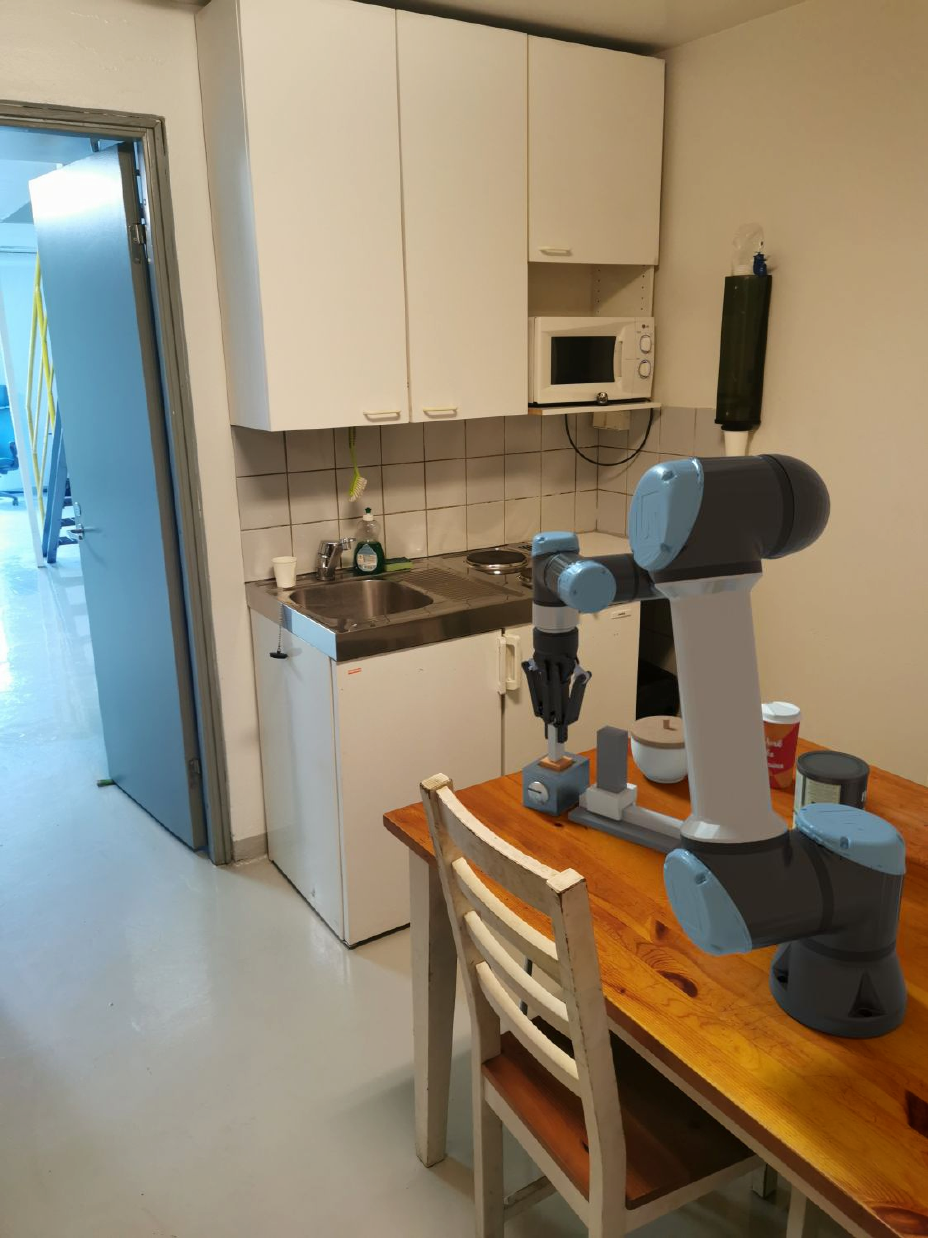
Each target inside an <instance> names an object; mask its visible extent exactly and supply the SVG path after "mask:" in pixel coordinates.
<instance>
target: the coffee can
mask: <svg viewBox="0 0 928 1238" xmlns="http://www.w3.org/2000/svg"><path fill="white" fill-rule="evenodd" d="M795 766H796V772H795V773H796V774H795V785H794V786H795V790H794V804H793V817H792V829H794V828H795V827H796V824H795V817H796V816H797V814H798V812H799V810H800V809H801V808H802V807H804V806H806V805H809V804H814V803H833V804H840V805H846V806H850V807H854V808H857V809H861V810H864V811H866V804H867V793H868V783H869V775H870V771H871V768H870V766H869V764H868V763H867V762H866V761H865V760H863V759H862V758H860V757H857V756H855V755H853V754H851V753H850V754H849V753H845V752H841V751H836V750H828V749H827V750H825V749H823V750H811V751H806V752H803V753H801V754H800V755H798V756H797V757H796V758H795Z"/></svg>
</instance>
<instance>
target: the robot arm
mask: <svg viewBox="0 0 928 1238" xmlns="http://www.w3.org/2000/svg"><path fill="white" fill-rule="evenodd" d="M831 504H832V503H831V497H830V493H829V490H828V488H827V484H826V483H825V481H824V479H823V478H822V477H821V475H820V474H819V473H818V472H817V470H815V469H814V468H813V467H811V465H809V464H808V463H807V462H804V461H802V460H801V459H799V458H796V457H794V456H790V455H786V454H779V453H762V454H757V455H754V454H753V455H752V454H751V455H731V456H705V457H689V458H684V459H678V460H672V461H664V462H660V463H658V464H657V463H656V465H653V466H652V467H650V468H649V469H648V470H647V471H646V472H645V473H644V475H642V477H641V479H640V480H639V481H638V483H637V485H636V488H635V491H634V493H633V494H632V500H631V502H630V508H629V514H628V526H627V527H628V528H627V529H628V531H627V534H628V540H629V542H628V543H629V546H630V552H628V553H626V552H624V553H615V554H605V555H602V554H601V555H593V556H583V555H581V554H580V551H581V548H580V542H579V541H580V540H579V537H578V535H576V534H575V533H573V532H570V531H569V532H568V531H545V532H541V533H538V534H535V536H534V537H533V539H532V543H531V544H532V546H531V556H530V559H531V579H532V580H531V581H532V589H531V590H532V591H531V592H532V625H533V626H534V627H533V629H532V647H533V649H534V652H533V654H532V657H531V658H528V659H526V660H524V661H522V662H521V664H520V665H521V668H522V670H523V672H524V675H525V676H526V680H527V685H528V691H529V695H530V696H529V697H530V700H531V704H532V705H531V706H532V710H533V715H534V716H535V718H540V719H541V720H542V721H543V723H544V738H545V740H547V754H548V760H550V761H553V762H556V761H558V760H560V759H561V758H563V757H564V751H565V743H566V742H568V739H569V734H568V733H569V726H571V725H572V724H574V723H576V722H578V721H579V718H580V714H581V710H582V709H581V708H582V705H583V701H584V697H585V693H586V688H587V684H588V682H589V681H590V679H591V678H592V676H593V673H592V671H590V670H587V671H586V670H585V669H584V668H582V666H581V665H580V660H579V657H578V651H579V650H578V649H579V636H580V634H579V633H580V632H579V628H578V627H577V625H579V612H581V613H584V614H591V615H592V614H597V613H600V612H602V611H603V610H605V609H606V608H608V607H609V606H610V605H615V604H616V605H617V604H624V603H631V602H639V601H651V600H658V599H659V600H660V599H667V600H669V604H670V612H671V613H670V614H671V623H672V632H673V633H672V634H673V644H674V652H675V660H676V661H675V662H676V670H677V671H676V672H677V681H678V682H677V683H678V691H679V700H680V701H679V702H680V711H681V718H682V721H683V731H684V741H685V751H686V760H687V770H688V774H687V777H688V788H689V799H690V807H691V808H690V809H691V813H690V814H689V815H688V816H687V817H686V819H685V820H683V821H684V822H683V824H682V825H681V826H680V837H681V848H680V849H675V850H674V851H673V852H671V853H669V854H666V857H665V860H664V862H665V863H664V864H663V882H664V887H665V890H666V895H667V899H668V900H669V904H670V907H671V909H672V911H673V914H674V916H675V918H676V920H677V921H678V923H679V926H680V927H681V928H682V930H683V932H684V933H685V934H686V936H687V938H688V939H689V940H690V941H691V942H692V944H694V946H696V947H697V948H698V949H699V950H701V951H703V952H704V953H706V954H708V955H712V956H716V957H717V956H719V957H720V956H727V955H733V954H749V953H751V951H755V950H759V949H760V950H761V949H764V948H768V947H772V946H776V945H778V946H777V948H776V950H775V952H774V954H773V957H772V958H771V962H770V966H769V977H768V987H769V989H770V993H771V995H772V997H773V998H774V999H773V1000H775V1002H776V1003H777V1004H778V1005H779V1006H780V1008H781V1009H782V1010H783V1011H784V1012H786V1013H787V1014H788V1015H789V1016H791V1017H792V1018H794V1019H795V1020H796V1021H797V1022H799V1023H801V1024H803V1025H805V1026H807V1027H810V1028H811V1029H815V1030H817V1031H818V1032H819V1031H820V1032H823V1033H824V1034H829V1035H832V1036H837V1037H840V1038H841V1037H842V1038H851V1039H868V1038H875V1037H876V1038H877V1037H879V1036H883V1035H885V1034H889V1033H890V1032H892V1031H894V1030H895V1029H897V1028H898V1027H899V1026H900V1025H901V1024H902V1022H903V1021H904V1018H905V1016H906V1011H907V1001H908V993H907V992H908V991H907V986H906V983H905V979H904V975H903V971H902V967H901V963H900V959H899V956H898V953H897V950H896V946H897V937H898V930H899V920H900V914H901V913H900V911H901V905H902V899H903V889H904V881H905V875H906V873H907V866H906V863H905V862H906V850H907V849H906V848H907V847H906V843H905V842H906V841H905V839H904V837H903V835H902V834H901V833H900V831H899V830H898V829H897V828H896V827H895V826H894V825H893V824H892V823H889V822H888V821H887V820H885V819H884V818H882V817H880V816H878V815H877V814H873V813H872V812H869V811H866V810H865V811H864V810H861V809H857V808H854V807H850V806H846V805H840V804H833V803H814V804H809V805H806V806H804V807H802V808H801V809H800V810H799V812H798V814H797V816H796V817H795V824H796V827H795V828H794V829H793V828H791V829H790V827H789V823H788V821H787V820H785V819H784V818H783V817H782V816H781V815H780V814H778V812H776V811H775V810H774V808H773V804H772V796H771V788H770V783H769V774H768V764H767V754H766V744H765V735H764V725H763V715H762V705H761V704H762V697H761V687H760V686H761V685H760V679H759V678H760V677H759V669H758V658H757V646H756V637H755V629H754V620H753V619H754V618H753V608H752V599H751V592H752V589H753V588H754V587H755V585H756V584H757V583H758V582H759V581H760V580H761V578H762V577H763V575H764V574H763V563H762V560H767V561H771V560H778V559H782V558H784V557H787V556H790V555H793V554H795V553H799V552H801V551H803V550H805V549H807V548H808V547H810V546H812V545H813V544H814V543H816V541H817V540H818V539H819V538H820V537H821V536H822V534H823V533H824V531H825V529H826V527H827V524H828V523H829V519H830V514H831V506H832V505H831ZM572 676H573V678H572ZM572 680H573V684H572V686H571V683H572ZM570 686H571V690H570Z"/></svg>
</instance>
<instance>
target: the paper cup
mask: <svg viewBox="0 0 928 1238" xmlns="http://www.w3.org/2000/svg"><path fill="white" fill-rule="evenodd" d="M761 705H762V715H763V725H764V735H765V744H766V754H767V764H768V774H769V783H770V789H775V790H777V789H785V788H789V787H790V786H792V785H791V784H792V781H793V775H794V768H795V763H796V754H797V747H798V739H799V734H800V733H799V732H800V726H801V721H802V720H803V715H802V713H801V709H800V707H798V706H796V705H795V704H793V703H789V702H785V701H773V702H772V701H771V702H765V703H761Z"/></svg>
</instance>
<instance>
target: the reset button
mask: <svg viewBox="0 0 928 1238" xmlns="http://www.w3.org/2000/svg"><path fill="white" fill-rule="evenodd" d="M571 765H573V758H569V757H566V756H564V757H563V758H561V759H560V760H558V761H556V762H553V761H550V760H548V756H547V757H545V758H544V759H542V760H540V766H542V767H545V768H548V769H552V770H555V771H558V772H561V771H563V770H564V769H566V768H568V767H569V766H571Z"/></svg>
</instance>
